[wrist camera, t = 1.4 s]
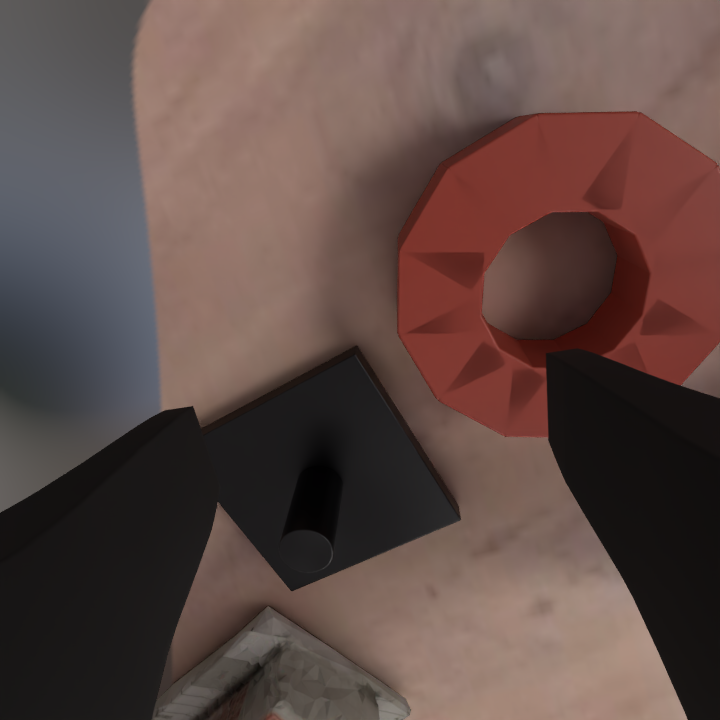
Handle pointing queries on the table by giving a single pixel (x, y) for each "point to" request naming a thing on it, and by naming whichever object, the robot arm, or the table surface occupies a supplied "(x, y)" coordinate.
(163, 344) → the table surface
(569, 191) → the ring
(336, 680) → the packaged product
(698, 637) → the robot arm
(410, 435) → the black square peg board
